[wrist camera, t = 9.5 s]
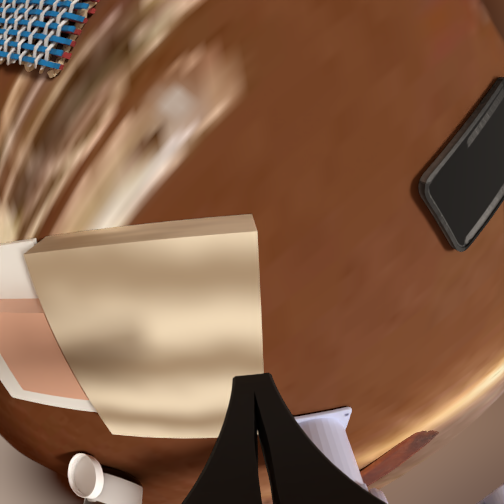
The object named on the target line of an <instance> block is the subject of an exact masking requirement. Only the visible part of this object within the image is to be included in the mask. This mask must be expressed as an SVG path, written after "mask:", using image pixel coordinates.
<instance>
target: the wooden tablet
mask: <svg viewBox="0 0 504 504" xmlns="http://www.w3.org/2000/svg"><path fill="white" fill-rule="evenodd" d="M438 433H439V432H437V431H433V430H432V431H428V432H427V431H421V432H417V433H415V434H413V435H411V436H410V437H408V438H407V439H405V440H404V441H402V442H401V443H399V444H398V445H396V446H395V447H393V448H392V449H391V450H389V451H388V452H387V453H385V454H384V455H383V456H381V457H380V458H378V459H377V460H375V461H374V462H372V463H371V464H370V465H368V466H367V467H365V468H364V469H362V470H361V471H360V474H361V477H362V480H363V483H365V484H366V486H369V485H370V484H372V483H374V482H375V481H377V480H378V479H380V478H382V477H383V476H384V475H386V474H388V473H389V472H391V471H392V470H394V469H395V468H396V467H398V466H399V465H401V464H402V463H403V462H404V461H406V460H407V459H408V458H410V457H411V456H412V455H414V454H415V453H416V452H418V451H419V450H420V449H421V448H422V447H424V446H425V445H426V444H427V443H429V442H430V441H431V440H432V439H433V438H434V437H435V436H436V435H437V434H438Z"/></svg>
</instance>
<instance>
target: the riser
mask: <svg viewBox="0 0 504 504" xmlns="http://www.w3.org/2000/svg"><path fill="white" fill-rule="evenodd" d="M24 258H25V261H26V264H27V267H28V270H29V273H30V276H31V279H32V282H33V285H34V287H35V290H36V293H37V295H38V298H39V300H40V303H41V305H42V308H43V310H44V313H45V315H46V317H47V320H48V322H49V324H50V327H51V329H52V331H53V333H54V335H55V337H56V340H57V342H58V344H59V346H60V348H61V350H62V352H63V354H64V356H65V358H66V360H67V362H68V363H69V365H70V367H71V369H72V371H73V373H74V374H75V376H76V378H77V380H78V382H79V383H80V385H81V387H82V388H83V390H84V392H85V393H86V395H87V397H88V398H89V400H90V402H91V403H92V405H93V406H94V408H95V409H96V411H97V412H98V414H99V416H100V417H101V418H102V420H103V421H104V423H105V424H106V426H107V427H108V429H109V430H110V431H111V433H112V434H116V435H127V436H139V437H157V438H216V437H218V436H219V433H220V431H221V428H222V425H223V422H224V419H225V415H226V412H227V409H228V405H229V401H230V396H231V390H232V379H233V378H234V377H235V376H242V375H253V374H262V373H264V369H263V345H262V322H261V299H260V277H259V255H258V234H257V228H256V225H255V222H254V219H253V216H252V214H246V215H234V216H221V217H210V218H199V219H188V220H178V221H168V222H158V223H149V224H140V225H131V226H122V227H114V228H106V229H98V230H90V231H82V232H75V233H67V234H60V235H53V236H46V237H45V238H44V239H42V240H41V241H40V242H38V243H37V244H36V245H35V246H33V247H32V248H31V249H29V250H28V251H27V252H26V253H25V254H24ZM257 434H258V431H257Z"/></svg>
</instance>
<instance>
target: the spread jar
mask: <svg viewBox="0 0 504 504" xmlns="http://www.w3.org/2000/svg"><path fill="white" fill-rule="evenodd" d="M68 479H69V483H70V486H71V488H72V490H73V491H74V492H75V493H76V494H77V495H78V496H80V497H83V498H85V500H84V504H142V493H143V490H142V484H141V483H140V482H139V481H138V480H137V479H136V478H135V477H133V476H132V475H130V474H128V473H126V472H123V471H121V470H118V469H114V468H110V467H103V466H101V465H100V463H99V462H98V461H97V459H96V458H94V457H93V456H91V455H87V454H84V453H78V454H76V455H74V456H73V457H72V459H71V461H70V463H69V467H68Z"/></svg>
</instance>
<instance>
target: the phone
mask: <svg viewBox="0 0 504 504" xmlns="http://www.w3.org/2000/svg"><path fill="white" fill-rule="evenodd" d="M418 189H419V194H420V196H421V198H422V199H423V201H424V202H425V204H426V205H427V204H428V205H427V207H428V209H429V210H430V212H431V213H432V215H433V216H434V218H435V220H436V221H437V223H438V225H439V226H440V228H441V230H442V231H443V233H444V235H445V237H446V238H447V240H448V242H449V244H450V245H451V246H452V247H453V248H454V249H456V250H457V251H460V252H463V251H465V250H466V249H467V248H468V247H469V246H470V245H471V244H472V243H473V241H474V240H475V239H476V237H477V236H478V235H479V234H480V232H481V231H482V230H483V228H484V227H485V226H486V224H487V223H488V222H489V220H490V219H491V218H492V216H493V215H494V213H495V212H496V211H497V209H498V208H499V206H500V205H501V203H502V202H503V200H504V77H499V78H498V79H497V80H496V82H495V83H494V85H493V86H492V88H491V89H490V90H489V92H488V93H487V94H486V96H485V97H484V98H483V100H482V101H481V103H480V104H479V105H478V107H477V108H476V109H475V111H474V112H473V113H472V115H471V116H470V117H469V118H468V120H467V121H466V122H465V124H464V125H463V126H462V127H461V129H460V130H459V131H458V133H457V134H456V135H455V136H454V138H453V139H452V140H451V141H450V142H449V144H448V145H447V146H446V147H445V149H444V150H443V151H442V152H441V153H440V155H439V156H438V157H437V158H436V159H435V161H434V162H433V163H432V164H431V165H430V167H429V168H428V169H427V170H426V171H425V172H424V174H423V175H422V176H421V178H420V181H419V187H418Z"/></svg>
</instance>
